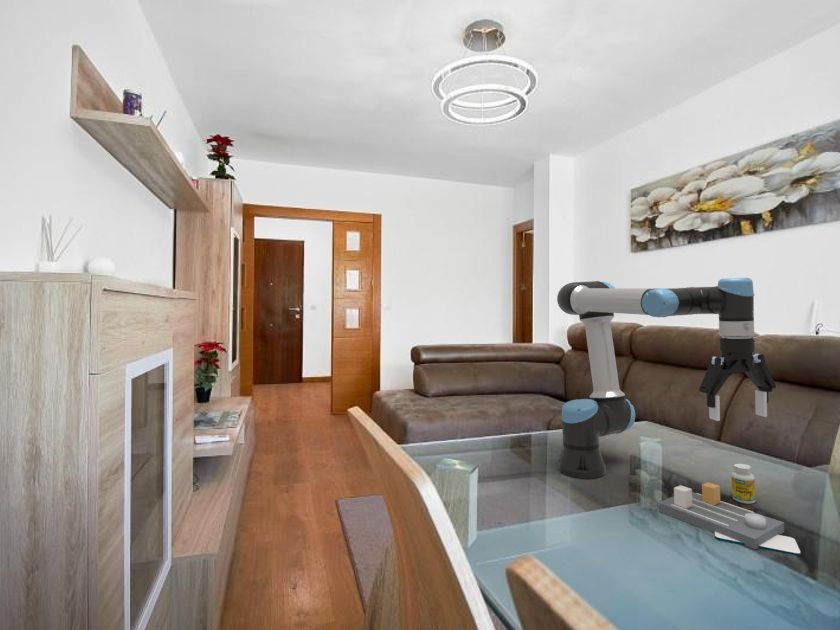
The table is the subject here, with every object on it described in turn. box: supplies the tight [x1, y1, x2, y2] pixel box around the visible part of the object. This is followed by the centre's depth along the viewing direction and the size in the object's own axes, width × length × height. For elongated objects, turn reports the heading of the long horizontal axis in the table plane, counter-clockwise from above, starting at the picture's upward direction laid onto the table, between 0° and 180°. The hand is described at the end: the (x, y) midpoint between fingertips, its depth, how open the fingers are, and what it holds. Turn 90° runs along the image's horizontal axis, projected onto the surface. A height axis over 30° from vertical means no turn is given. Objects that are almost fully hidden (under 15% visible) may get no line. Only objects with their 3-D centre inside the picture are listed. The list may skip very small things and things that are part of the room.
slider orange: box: [701, 481, 721, 505], centre depth 120 cm, size 3×3×4 cm
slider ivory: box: [673, 484, 693, 509], centre depth 119 cm, size 3×3×4 cm
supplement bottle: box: [730, 463, 757, 505], centre depth 126 cm, size 5×5×10 cm
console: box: [658, 491, 785, 551], centre depth 115 cm, size 23×14×4 cm, turn 29°
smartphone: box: [713, 531, 802, 556], centre depth 106 cm, size 8×1×16 cm
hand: (738, 417), depth 118 cm, fingers open, 13 cm apart
